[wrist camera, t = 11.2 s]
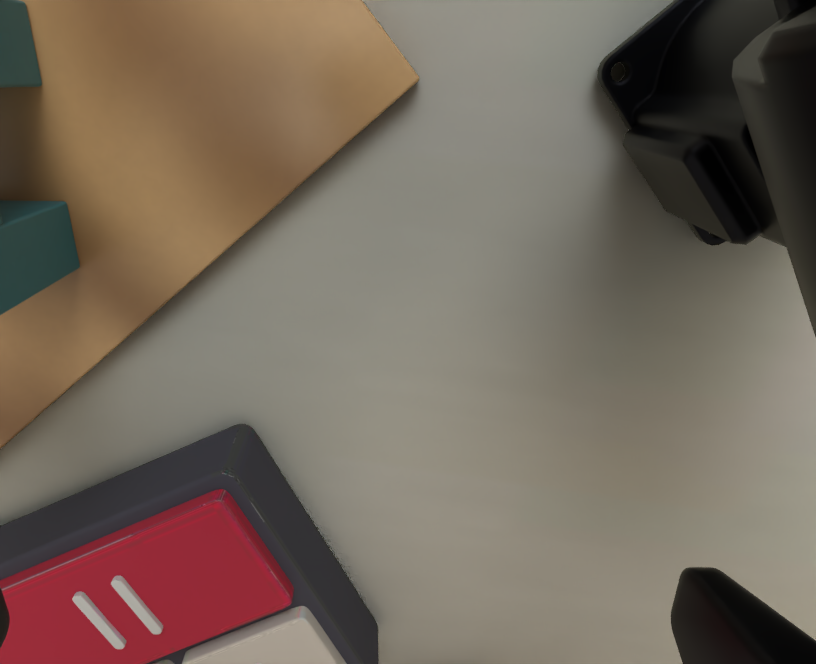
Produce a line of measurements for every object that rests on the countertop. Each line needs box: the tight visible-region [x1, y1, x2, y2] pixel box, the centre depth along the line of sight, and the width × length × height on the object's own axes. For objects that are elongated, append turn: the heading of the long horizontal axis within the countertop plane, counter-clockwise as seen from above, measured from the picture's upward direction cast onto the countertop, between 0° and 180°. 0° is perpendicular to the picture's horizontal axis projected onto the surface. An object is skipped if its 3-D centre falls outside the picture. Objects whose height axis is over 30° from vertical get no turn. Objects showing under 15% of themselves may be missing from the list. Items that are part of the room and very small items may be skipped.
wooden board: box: [0, 0, 419, 449], centre depth 17 cm, size 20×12×1 cm, turn 129°
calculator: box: [0, 424, 378, 664], centre depth 22 cm, size 11×4×15 cm
